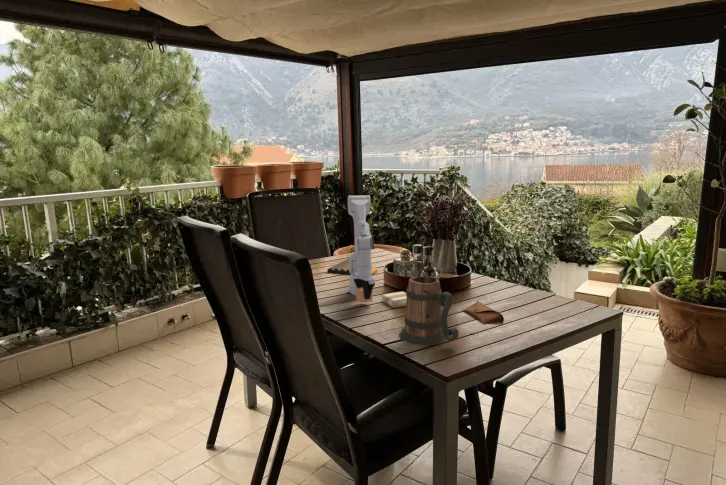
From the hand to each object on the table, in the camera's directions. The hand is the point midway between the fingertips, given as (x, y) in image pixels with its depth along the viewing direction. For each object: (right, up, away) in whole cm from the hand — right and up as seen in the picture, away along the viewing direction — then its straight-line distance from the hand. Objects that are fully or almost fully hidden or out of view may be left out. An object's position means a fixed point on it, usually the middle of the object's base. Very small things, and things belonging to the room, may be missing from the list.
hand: (364, 297), depth 202 cm
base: (+14, -3, +3) cm, 15 cm away
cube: (0, -1, 0) cm, 1 cm away
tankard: (+22, -10, -37) cm, 44 cm away
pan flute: (-3, +7, +64) cm, 64 cm away
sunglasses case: (+45, -6, -14) cm, 48 cm away
